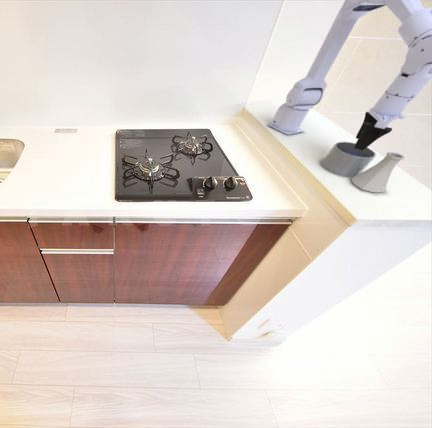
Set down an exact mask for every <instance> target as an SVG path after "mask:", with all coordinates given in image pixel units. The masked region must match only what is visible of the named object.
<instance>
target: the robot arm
mask: <svg viewBox="0 0 432 428" xmlns="http://www.w3.org/2000/svg"><path fill="white" fill-rule="evenodd" d="M384 7H387V8H388V9H389V11H390V12H391V13H392V14H393V15H394V16H395V17H396V18H397V20H398V21H399V22H400V23H401V24H400V26H399V27H398V29H397V34H398V36H399V38H400V40H402V42H403V43H404V45H405V47H406V48H407V53H406V55H405V61H404V63H403V65H402V66H401V67H400V71H399V73H398V74H397V75H396V76H395V78H394V79H393V80H392V82H391V83H390V85H388V87H387V88H386V90H385V91H384V92H383V93H382V95H381V96H380V97H379V98H378V100H377V101H376V102H375V104H374V105H373V106H372V107H371V108H370V109H369V110H368V111H365V113H364V115H365V116H364V118H363V122H362V124H361V126H360V128H359V130H358V132H357V134H356V136H355V139H356V142H355V143H356V144H355V146H354V148H355V149H359V150H364V149H365V148H367V147H368V148H369V147H370V146H371V145H372V144H373V143H374V142H376V141H377V140H379V139H380V138H382V137H383V136H385V135H388V134H389V133H391V132H392V131H393V128H392V127H388V125H389V124H390V123H391V122H393V121H396V120H397V119H400V120H404V119H405V118H406V117H407V115H406V113H404V110H406V108H407V107H408V106H409V105H410V104H411V103H412V101H413V100H414V99H415V98H416V97H417V96H418V95H419V93H420V92H421V91H422V90H423V89H424V87H426V85H427V84H428V83H429V82H430V81H431V79H432V7H427V8H425V7H424V6H423V4H422V2H421V0H344V2H343V4H342V5H341V8H340V9H339V10H338V12H337V14H336V17H335V18H334V20H333V22H332V24H331V26H330V28H329V30H328V32H327V34H326V36H325V38H324V40H323V42H322V44H321V46H320V48H319V50H318V52H317V54H316V56H315V58H314V60H313V62H312V63H311V66H310V68H309V70H308V72H307V74H306V76H305V77H303V78H301V79H299V80H298V81H296V82H295V83H294V85H293V86H292V88H291V89H290V90H289V91H288V93H287V94H286V97H285V102H284V103H283V104H281V105H280V106H279V107H278V109H277V110H276V112H275V114H274V117H273V118H272V121H271V123H269V124H268V126H269V127H271V128H272V129H274V130H277V131H278V132H281V133H283V134H285V135H287V136H288V135H289V136H290V135H294V134H298V133H302V132H303V131H304V130H303V129H300V128H301V125H302V123H304V120H305V118H306V117H307V115H308V113H309V111H310V109H311V110H312V109H313V108H314V106H316V105H318V104H320V102H321V101H322V100H323V99H324V94H325V90H326V88H327V87H328V84H327V82H326V80H325V79H326V77H327V76H328V74H329V72H330V70H331V68H332V67H333V64H334V62H335V61H336V59H337V57H338V55H339V54H340V52H341V50H342V48H343V46H344V45H345V43H346V42H347V40H348V38H349V36H350V34H351V32H352V31H353V29H354V27H355V25H356V23H357V22H358V21H359V19H361V18H362V17H364V16H366V15H367V14H369V13H370V12H373V11H376V10H378V9H381V8H384Z"/></svg>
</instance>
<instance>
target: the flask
mask: <svg viewBox="0 0 432 428" xmlns="http://www.w3.org/2000/svg"><path fill="white" fill-rule="evenodd" d="M404 159H405V156H404V154H401V153H399V152H396V151H395V152H394V151H389V152H388V151H387V152H386V155H385V157H383V158H382V159H381V160H380V161H378V162H377V163H375V165H373V166H371V167H369V168H368V169H366V170H363V171H362V172H361V173H360V174H359V175H357V176H355V177H351V182H352V184H353V185H354V186H356V187H357V188H359V189H361V190H363V191H367V192H371V193H385V192H386V191H385V190H386V188H387V185H388V182H389V179H390V177H391V174H392V172H393V170H394V169H395V167H396V166H397V164H399V162H401V161H402V160H404Z"/></svg>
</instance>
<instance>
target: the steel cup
mask: <svg viewBox="0 0 432 428" xmlns="http://www.w3.org/2000/svg"><path fill="white" fill-rule="evenodd" d="M355 144H356V142H352V141H351V142H350V141H337V142H336V143H334V145H333V146H332V148H331V149H330V150H329V151H328V153H327V154H326V156H325V157H324V159H323V160H322V162H321V166H322V167H323V168H324V169H325V170H326V171H328V172H330V173H331V174H334V175H338V176H341V177H347V178H353V177H355V176H357V175H359V174H360V173H362V172H364V171H365V169H366V168H367V167H368V166H369V165H370V163H371V162H372V161H373V160H374V159H375V158H376V156H377V153H376V152H375V150H373V149H372V148H370V147H369V146H368V147H367V148H365V149H364V150H359V149H355V148H354V146H355ZM344 151H348V152H352V153H356V154H357V156H353V155H350V154H347V153H345V152H344Z"/></svg>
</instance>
